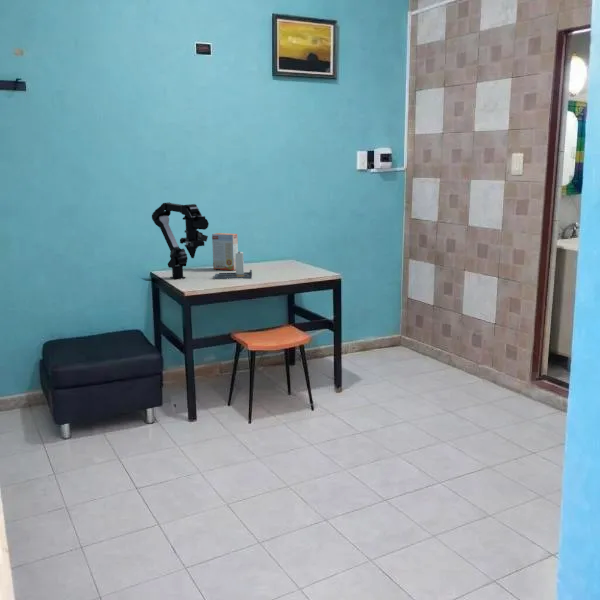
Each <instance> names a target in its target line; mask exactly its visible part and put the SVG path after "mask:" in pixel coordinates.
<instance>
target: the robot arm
mask: <svg viewBox="0 0 600 600" xmlns="http://www.w3.org/2000/svg"><path fill="white" fill-rule="evenodd" d="M171 212H175V213H180V214H181V215H183V217H182V220H183V221H184V220H185V221H184V223H185V230H184V233H185V237H181V238H180V239H179V243H180V244H181V245H182V244H184V247H185V248H181V247H180V246H179V244H178V242H177V239H176V238H175V235H174V233H173V231H172V229H171V227H170V224H169V223H170V215H171ZM151 219H152V222H153V223H154V224H155V226H157V227H158V228H159V230H161V234H162V235H163V238H164V240H165V242H166V244H167V246H168V249H169V250H170V254H169V259H170V260H169V261H168V263H167V267H168V268H169V269H171V271H172V272H171V273H172V274H171V275H172V276H169V277H170V279H172V280H179V279H180V280H181V278H182V279H186V276H184V268H183V267H187V263H188V254H189V256H190V258H191V259H195V255H196V251H197V249H198V248H199V247H205V245H206V244H205V242H207V240H208V237H209V236H208V235H205V234H203V232H200V231H199V230H207V229H208V228H209V225H210V224H209V220H208V219H207V218H206V216H205V215H204V216H203V214H202V213H201V212H200V209H199V208H198V205H197V204H196V203H193V204H180V203H179V204H178V203H172V202H163V203H161V205H160V206H159V207H157V208H156V209H155V210H154V211H153V212H152V213H151ZM185 249H186V250H187V252H188V254H187V252H186V250H185Z"/></svg>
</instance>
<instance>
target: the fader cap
mask: <svg viewBox="0 0 600 600" xmlns="http://www.w3.org/2000/svg"><path fill="white" fill-rule="evenodd" d="M235 254H236V270H235V273H236V275H243V274H244V272H245V268H244V267H245V264H244V263H245V262H244V251H241V250H238V252H236V253H235Z"/></svg>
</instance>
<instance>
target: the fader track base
mask: <svg viewBox="0 0 600 600" xmlns="http://www.w3.org/2000/svg"><path fill="white" fill-rule="evenodd" d="M252 277H253V270H252V269H249V271H248V272H247V271H246V272H245V271H244V274H243V275H236V272H218V273H215V274H214V275H213V279H214V280H228V279H229V278H243V279H252ZM227 278H228V279H227ZM229 280H230V279H229Z"/></svg>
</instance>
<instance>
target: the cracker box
mask: <svg viewBox="0 0 600 600" xmlns="http://www.w3.org/2000/svg"><path fill="white" fill-rule="evenodd" d="M211 239H212V240H211V244H212V266H213V270H216V269H220V271H221V270H222V271H232V270H234V271H236V254H235V253H236V252H239V242H238V241H239V239H238V233H228V232H227V233H225V232H224V233H222V232H216V233H212V235H211Z"/></svg>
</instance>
